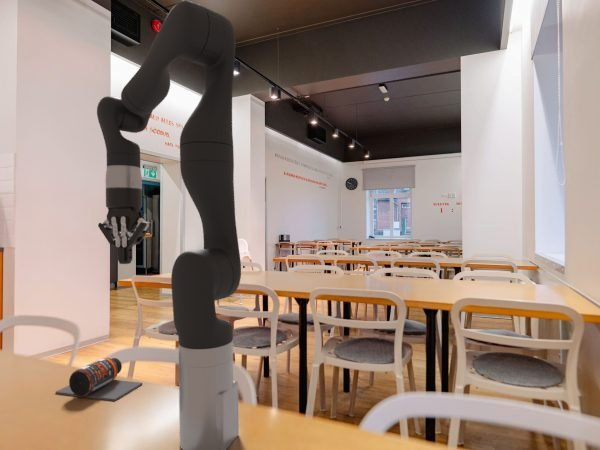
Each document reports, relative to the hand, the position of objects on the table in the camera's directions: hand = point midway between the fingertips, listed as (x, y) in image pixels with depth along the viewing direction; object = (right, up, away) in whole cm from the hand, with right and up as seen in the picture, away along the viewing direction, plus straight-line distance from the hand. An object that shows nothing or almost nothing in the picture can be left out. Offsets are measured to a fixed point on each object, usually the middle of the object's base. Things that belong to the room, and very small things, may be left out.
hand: (125, 263), depth 89 cm
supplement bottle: (-8, -26, -4) cm, 27 cm away
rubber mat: (-6, -29, +1) cm, 30 cm away
